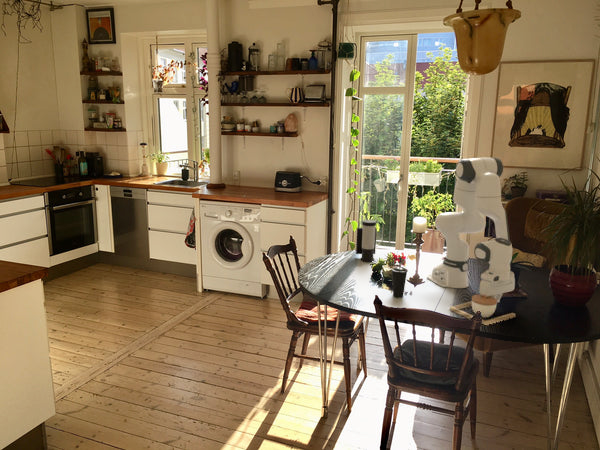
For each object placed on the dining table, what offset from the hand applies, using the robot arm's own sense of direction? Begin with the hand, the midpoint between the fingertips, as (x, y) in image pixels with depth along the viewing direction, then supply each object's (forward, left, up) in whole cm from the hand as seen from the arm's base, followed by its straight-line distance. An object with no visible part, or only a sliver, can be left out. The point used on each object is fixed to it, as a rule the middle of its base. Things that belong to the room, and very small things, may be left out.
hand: (495, 302), depth 227 cm
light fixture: (-91, -3, -4) cm, 91 cm away
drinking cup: (-35, -28, -4) cm, 45 cm away
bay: (0, -9, -4) cm, 10 cm away
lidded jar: (+2, -10, -4) cm, 11 cm away
